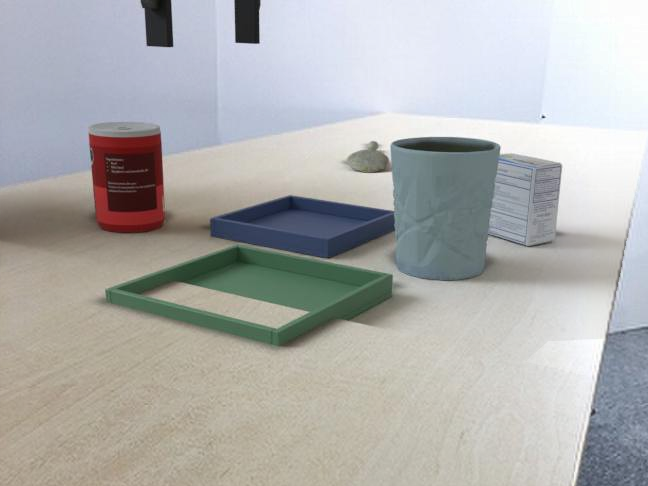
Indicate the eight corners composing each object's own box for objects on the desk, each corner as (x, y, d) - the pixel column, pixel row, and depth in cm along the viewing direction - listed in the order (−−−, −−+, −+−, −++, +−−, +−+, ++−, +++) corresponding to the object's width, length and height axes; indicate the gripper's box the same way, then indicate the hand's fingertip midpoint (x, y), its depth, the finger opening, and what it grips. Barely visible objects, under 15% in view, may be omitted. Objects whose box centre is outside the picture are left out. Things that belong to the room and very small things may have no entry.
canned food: (132, 213, 102) (126, 119, 98) (180, 224, 98) (176, 126, 94) (81, 225, 96) (72, 126, 92) (129, 237, 92) (122, 133, 88)
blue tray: (210, 236, 93) (209, 218, 92) (289, 210, 105) (289, 194, 104) (327, 258, 86) (328, 239, 85) (398, 228, 98) (399, 211, 97)
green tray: (106, 312, 70) (104, 289, 69) (237, 263, 83) (236, 244, 83) (278, 358, 61) (278, 332, 61) (392, 296, 75) (393, 274, 74)
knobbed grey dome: (344, 175, 131) (386, 179, 131) (345, 153, 130) (388, 157, 129) (355, 148, 151) (392, 151, 151) (356, 129, 150) (394, 132, 149)
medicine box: (555, 242, 93) (565, 163, 90) (527, 247, 91) (535, 166, 88) (504, 227, 100) (511, 152, 96) (476, 231, 97) (482, 155, 94)
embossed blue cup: (504, 281, 80) (516, 151, 75) (398, 284, 78) (405, 152, 74) (470, 252, 89) (480, 135, 85) (376, 254, 87) (380, 135, 83)
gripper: (130, -236, 67) (147, 50, 74) (307, -178, 87) (305, 43, 94) (64, -225, 70) (86, 46, 78) (248, -172, 90) (251, 40, 98)
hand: (206, 45), depth 86 cm, fingers open, 13 cm apart
